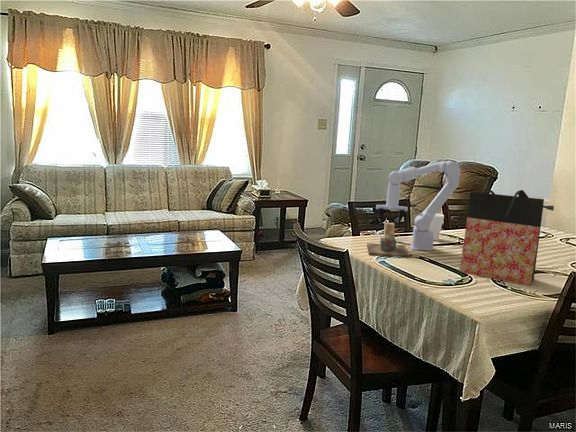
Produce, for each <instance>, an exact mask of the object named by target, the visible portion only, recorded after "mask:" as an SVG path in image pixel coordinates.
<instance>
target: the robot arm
mask: <svg viewBox="0 0 576 432" xmlns="http://www.w3.org/2000/svg"><path fill="white" fill-rule="evenodd" d="M461 171H462V170H461V169H460V165H459V163H458V162H456V161H454V160H446V161H445V160H443V161H439V162H438V161H437V162H434V163H430V164H428V165H424V166H421V167H415V166H411V165H409V166H407V168H403V169H397V171H395V170H394V171H391V172H390V173H389V175H388V177H387V178H388V183H387V184H388V186H387V191H386V193H387V194H386V201H385V202H386V203H385V204H376V205H375V209H376V210H377V211H378V213H379V216H380V217H379V218H380V225H382V226H383V224H384V215H385V210H389V211H398V213H397V214H398V217H397V223H396V225H397V226H398V227H400V224H401V221H402V220H403V217H404V216H405V214H406V212H408V211H409V209H408V208H409V207H408V206H401V205H399V202H400V193H401V183H402V182H403V183H404V182H408V181H412V180H414V179H418V176H420V175H423V174H424V175H425V174H429V173H432V172H439V173H444V175H445V180H446V183H445V184H444V185H443V187H442V188H441V190H440V191H438V193H437V194H436V196H435V197H434V198H433V199H432V201H431V202H430V203H429V204H428V206H427V207H426V208H425V209H424V210H423V211H422V212H421V213H420V214H418V215H416V216H415V217H414V220H413V222H414V225H415V226H414V227H413V230H412V242H411V244H409V246H410V248H411V250H413V251H414V250H415V251H431V252H432V251H433V249H434V241H433V240H434V233H433V231H429V229H428V228H429V226H430V223H431V221H432V220H433V217H434V215H435V214H436V213H437V214H438V211H439V210H440V209H441V208H442V206H443V205H444V204H445V203H446V202H447V200H448V199H449V198H450V196H451V195H452V194H453V192H455V191H456V189H457V188H458V186H459V184H460V175H461Z"/></svg>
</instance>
